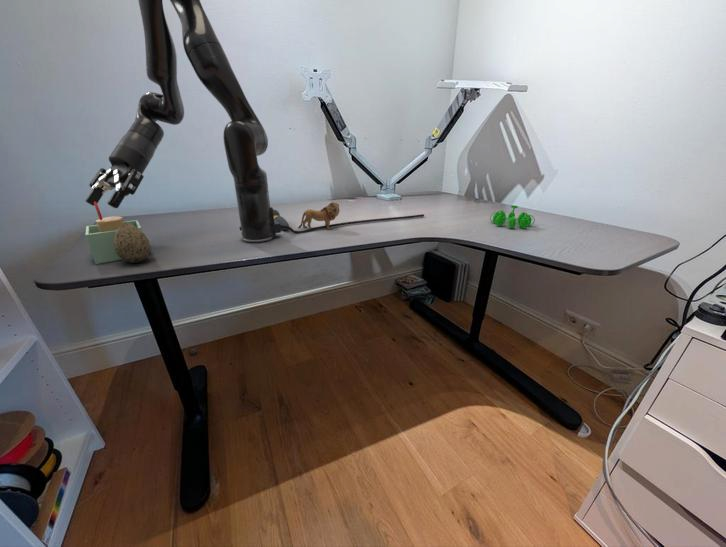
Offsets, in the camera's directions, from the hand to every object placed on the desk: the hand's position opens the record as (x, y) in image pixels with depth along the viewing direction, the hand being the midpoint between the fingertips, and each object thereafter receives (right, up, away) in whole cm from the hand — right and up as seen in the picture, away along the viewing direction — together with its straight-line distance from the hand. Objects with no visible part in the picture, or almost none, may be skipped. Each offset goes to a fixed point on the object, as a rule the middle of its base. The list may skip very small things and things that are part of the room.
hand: (100, 205), depth 77 cm
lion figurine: (+50, -1, +32) cm, 60 cm away
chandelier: (+120, +1, +38) cm, 126 cm away
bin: (0, -12, +6) cm, 13 cm away
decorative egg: (+8, -14, +1) cm, 17 cm away
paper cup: (0, -11, +6) cm, 13 cm away
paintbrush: (+35, 0, +35) cm, 50 cm away
